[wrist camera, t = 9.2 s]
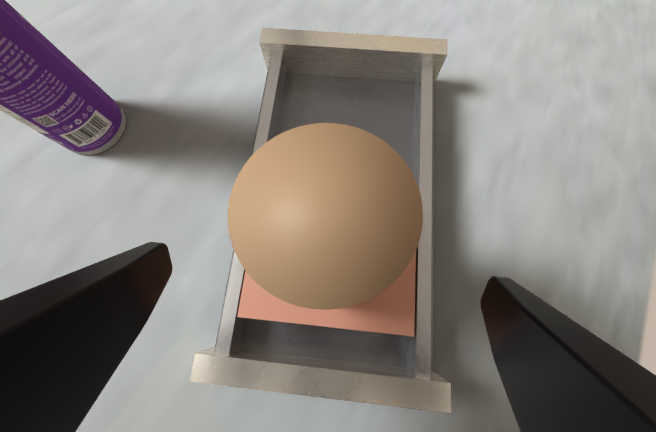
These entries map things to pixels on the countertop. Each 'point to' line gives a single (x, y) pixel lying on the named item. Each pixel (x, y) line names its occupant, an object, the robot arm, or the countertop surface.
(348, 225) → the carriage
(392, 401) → the slide base
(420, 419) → the countertop surface
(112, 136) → the container
